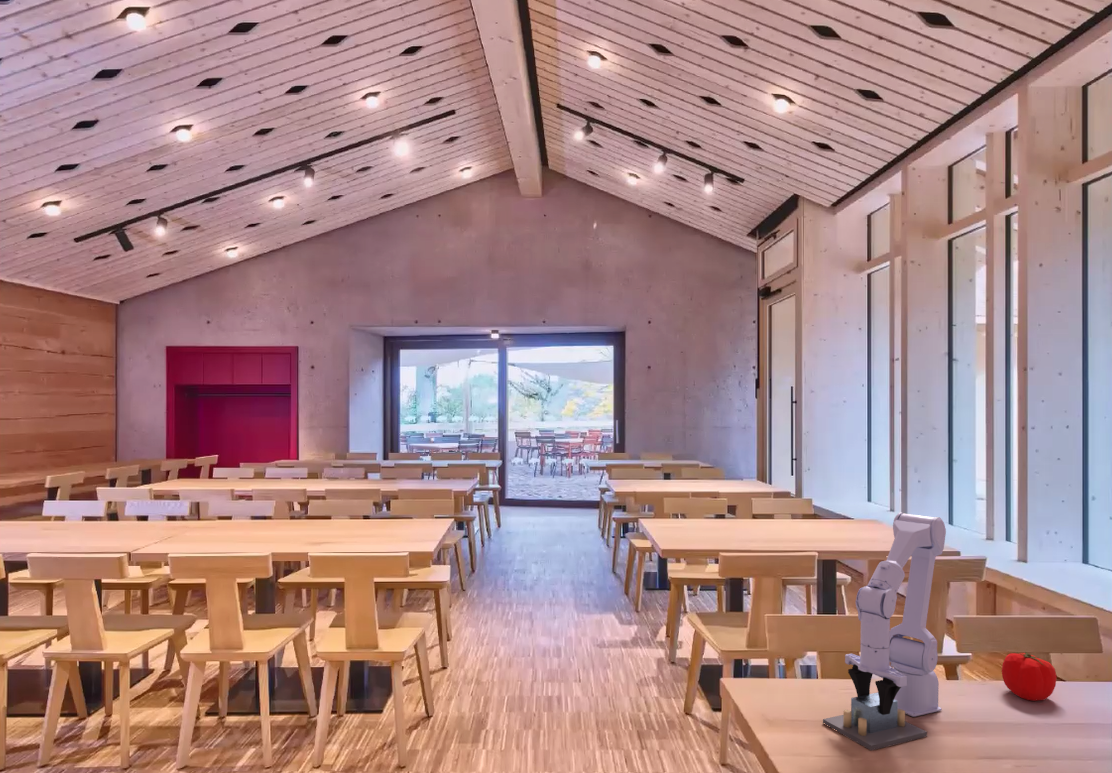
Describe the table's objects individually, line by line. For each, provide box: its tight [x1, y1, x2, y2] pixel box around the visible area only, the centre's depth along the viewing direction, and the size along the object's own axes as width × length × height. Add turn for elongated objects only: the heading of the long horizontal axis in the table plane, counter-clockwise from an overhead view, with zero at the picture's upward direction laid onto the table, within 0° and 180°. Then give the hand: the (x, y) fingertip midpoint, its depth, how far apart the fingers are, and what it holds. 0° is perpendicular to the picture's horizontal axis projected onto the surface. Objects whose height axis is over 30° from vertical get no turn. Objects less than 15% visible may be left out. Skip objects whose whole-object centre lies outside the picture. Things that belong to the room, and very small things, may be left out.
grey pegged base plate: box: [822, 709, 928, 751], centre depth 156 cm, size 16×13×4 cm
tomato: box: [1001, 651, 1058, 702], centre depth 175 cm, size 11×13×10 cm
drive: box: [850, 691, 898, 733], centre depth 156 cm, size 8×5×6 cm, turn 114°
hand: (874, 708), depth 156 cm, fingers closed on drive, 5 cm apart
